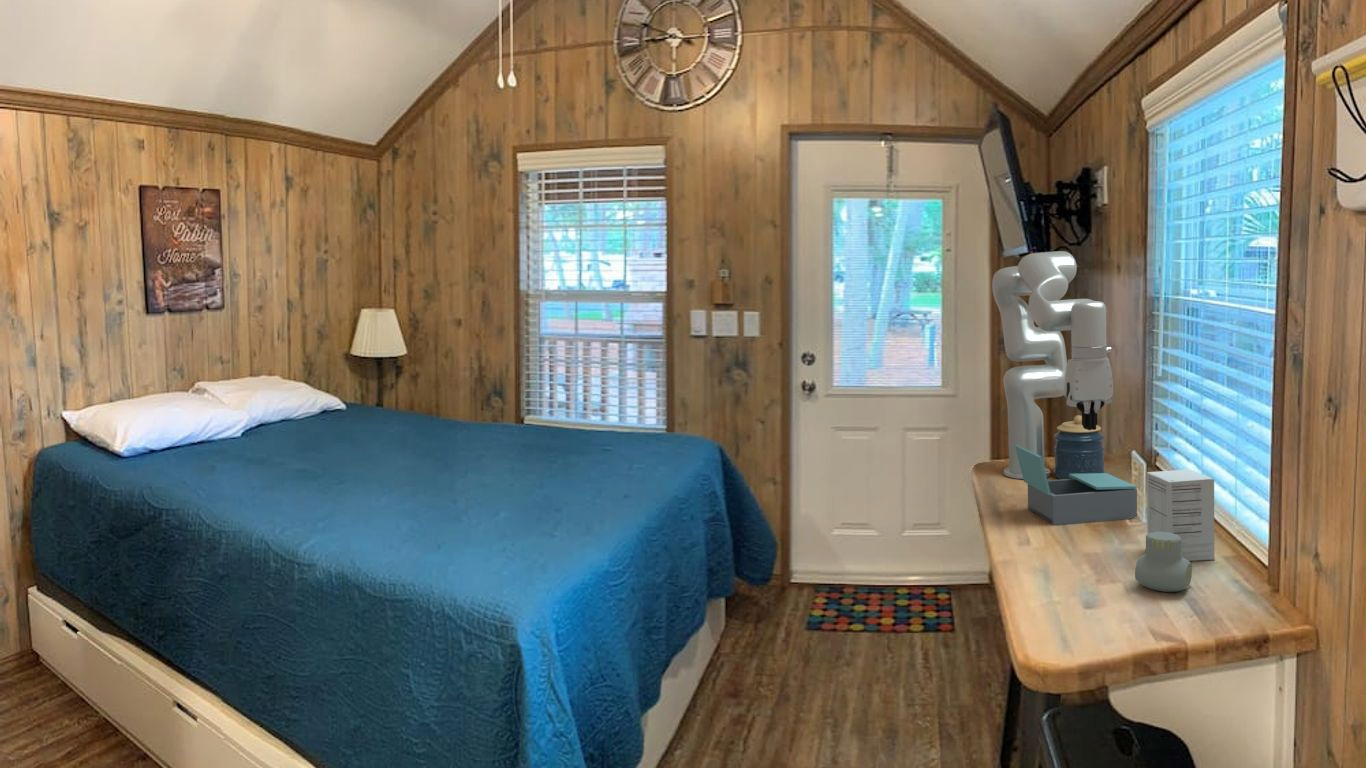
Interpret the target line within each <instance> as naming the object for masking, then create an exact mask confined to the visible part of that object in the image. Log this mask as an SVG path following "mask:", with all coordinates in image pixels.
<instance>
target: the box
mask: <svg viewBox="0 0 1366 768" xmlns="http://www.w3.org/2000/svg"><path fill="white" fill-rule="evenodd" d="M1047 480H1048V479H1047ZM1048 484H1049V488H1050V492H1051V495H1047V494H1045V493H1044V492H1042V491H1040V490H1038V489H1036V488H1035V487H1033V486H1031V485H1029V484H1027V509H1028V510H1029V511H1030V512H1031V513H1034V514H1036V516H1038V517H1040V518H1042V519H1043V520H1044V521H1046V522H1048V523H1049V524H1051V525H1052V526H1059V525H1060V526H1061V525H1074V524H1075V525H1076V524H1083V523H1082V522H1087V523H1095V522H1094V521H1099V522H1109V521H1110V522H1111V521H1121V520H1132V519H1131V518H1135V517H1137V518H1138V490H1137V488H1136V489H1101V490H1096V489H1094V488H1092V487H1090V486H1088V485H1086V484H1084V483H1082V482H1080V481H1078V480H1076V479H1074V478H1073V479H1049V480H1048ZM1135 519H1136V518H1135Z"/></svg>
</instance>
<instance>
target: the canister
mask: <svg viewBox="0 0 1366 768" xmlns="http://www.w3.org/2000/svg"><path fill="white" fill-rule="evenodd" d="M1056 430H1057V431H1058V432H1056V433H1055V434H1054V435H1053V438H1054V439H1055V445H1054V447H1053V449H1054V467H1053V468H1054V474H1055V477H1056V478H1057V479H1058V480H1060V479H1073V478H1072V477H1069V474H1088V473H1106V469H1105V449H1106V447H1105V446H1104V443H1103V441H1104V439H1105V435H1104V434H1103V433H1101V430H1102V427H1101V426H1100V425H1098V424H1097V425H1096V430H1087V429H1084V428H1083V426H1082V415H1079V414H1078V415H1075V416H1074V417H1073V420H1072V421H1070V420H1069V421H1065V422H1062V423H1061V424H1060V425H1058V426H1056Z"/></svg>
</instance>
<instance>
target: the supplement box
mask: <svg viewBox="0 0 1366 768" xmlns="http://www.w3.org/2000/svg"><path fill="white" fill-rule="evenodd" d="M1146 502H1147V503H1146V506H1147V507H1146V508H1147V512H1146V513H1147V515H1146V516H1147V518H1146V522H1147V525H1146V526H1147V528H1146V529H1147V530H1146V531H1147V534H1149V533H1151V532H1169V533H1174V534H1177V535H1178V536H1180V537H1181V546H1182V557H1183V558H1185V559H1186V560H1188V561H1189V562H1192V561H1193V562H1195V561H1196V562H1197V561H1213V560H1215V558H1216V557H1215V479H1214V478H1213V477H1209V476H1207V475H1205V474H1202V473H1199V472H1196V471H1193V470H1192V469H1174V470H1163V471H1162V470H1161V471H1159V470H1158V471H1147V472H1146ZM1147 534H1146V535H1147Z"/></svg>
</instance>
